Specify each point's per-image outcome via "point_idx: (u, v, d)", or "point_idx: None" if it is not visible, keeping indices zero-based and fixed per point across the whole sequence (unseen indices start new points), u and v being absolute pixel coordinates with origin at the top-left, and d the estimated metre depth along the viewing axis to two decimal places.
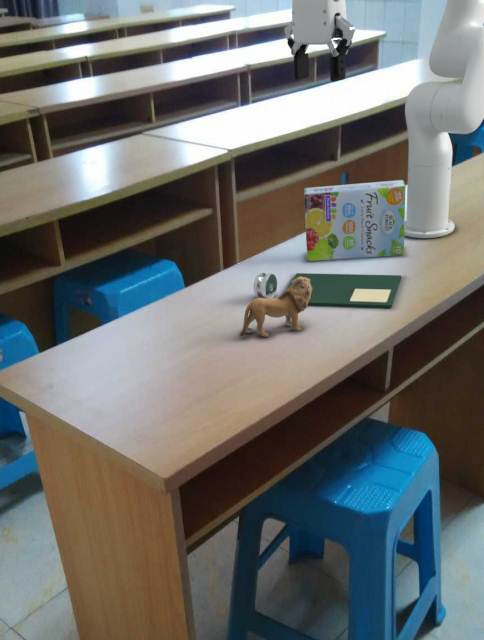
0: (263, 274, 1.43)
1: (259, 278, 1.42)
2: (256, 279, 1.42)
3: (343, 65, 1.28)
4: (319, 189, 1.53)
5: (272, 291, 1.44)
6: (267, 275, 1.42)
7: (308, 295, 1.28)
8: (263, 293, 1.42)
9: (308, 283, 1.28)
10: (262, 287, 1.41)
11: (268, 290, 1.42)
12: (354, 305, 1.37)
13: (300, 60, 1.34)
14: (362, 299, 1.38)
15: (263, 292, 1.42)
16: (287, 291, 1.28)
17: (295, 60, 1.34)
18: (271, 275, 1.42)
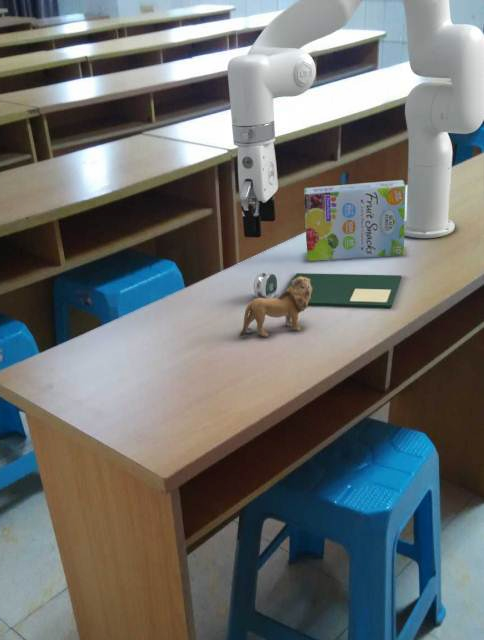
0: (263, 274, 1.43)
1: (259, 278, 1.42)
2: (256, 279, 1.42)
3: (252, 225, 1.31)
4: (319, 189, 1.53)
5: (272, 291, 1.44)
6: (267, 275, 1.42)
7: (308, 295, 1.28)
8: (263, 293, 1.42)
9: (308, 283, 1.28)
10: (262, 287, 1.41)
11: (268, 290, 1.42)
12: (354, 305, 1.37)
13: (262, 205, 1.39)
14: (362, 299, 1.38)
15: (263, 292, 1.42)
16: (287, 291, 1.28)
17: None
18: (271, 275, 1.42)
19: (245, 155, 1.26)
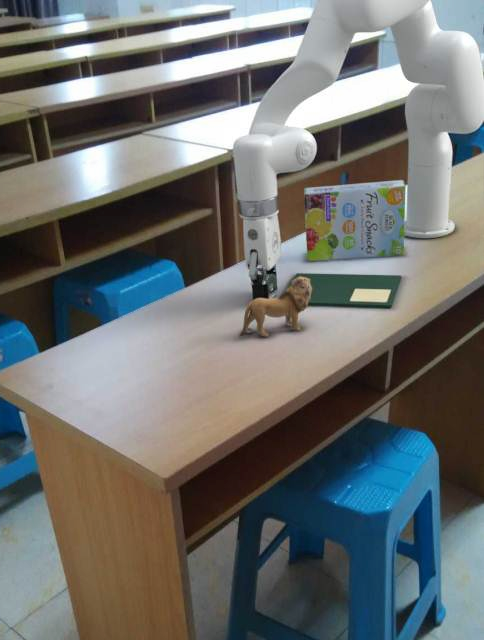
0: None
1: None
2: None
3: (261, 293, 1.40)
4: (319, 189, 1.53)
5: (272, 291, 1.44)
6: (267, 275, 1.42)
7: (308, 295, 1.28)
8: None
9: (308, 283, 1.28)
10: None
11: (268, 290, 1.42)
12: (354, 305, 1.37)
13: None
14: (362, 299, 1.38)
15: None
16: (287, 291, 1.28)
17: None
18: (271, 275, 1.42)
19: (250, 228, 1.33)
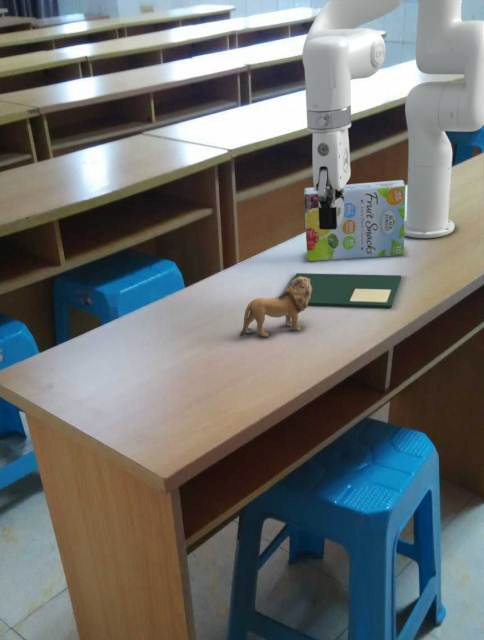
0: (330, 198, 1.32)
1: None
2: None
3: (329, 217, 1.29)
4: None
5: (339, 217, 1.32)
6: (335, 198, 1.30)
7: (308, 295, 1.28)
8: None
9: (308, 283, 1.28)
10: None
11: None
12: (354, 305, 1.37)
13: None
14: (362, 299, 1.38)
15: None
16: (287, 291, 1.28)
17: None
18: (339, 199, 1.30)
19: (321, 142, 1.21)
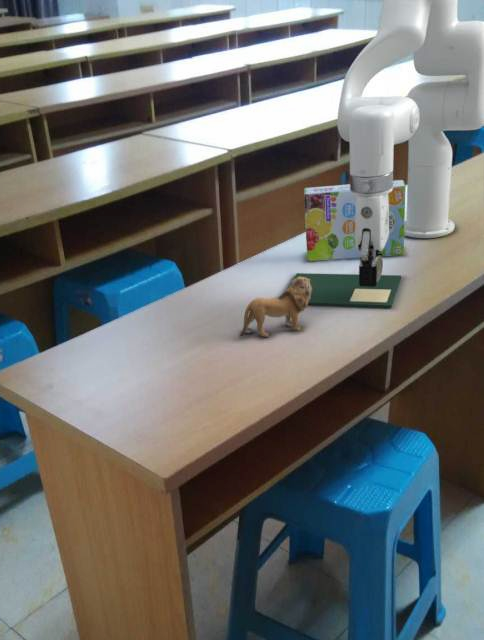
0: None
1: None
2: None
3: (369, 275, 1.33)
4: (319, 189, 1.53)
5: (378, 274, 1.36)
6: None
7: (308, 295, 1.28)
8: None
9: (308, 283, 1.28)
10: None
11: None
12: (354, 305, 1.37)
13: None
14: (362, 299, 1.38)
15: None
16: (287, 291, 1.28)
17: None
18: (379, 257, 1.34)
19: (364, 205, 1.25)
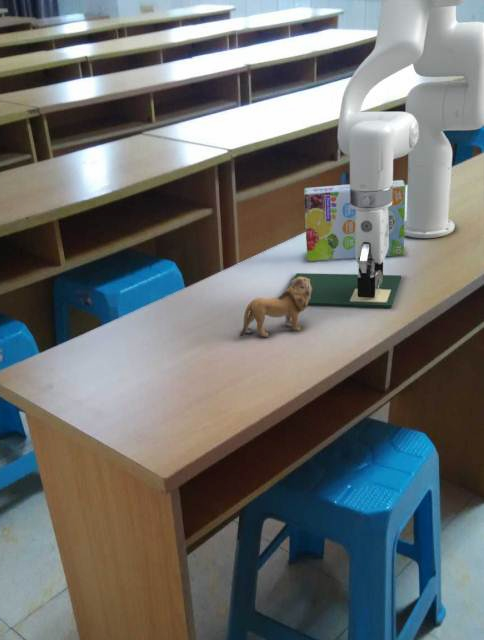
0: None
1: None
2: None
3: (368, 286, 1.32)
4: (319, 189, 1.53)
5: (378, 288, 1.38)
6: (375, 271, 1.36)
7: (308, 295, 1.28)
8: None
9: (308, 283, 1.28)
10: None
11: (375, 287, 1.36)
12: (354, 305, 1.37)
13: None
14: (362, 299, 1.38)
15: None
16: (287, 291, 1.28)
17: None
18: (378, 271, 1.36)
19: (364, 219, 1.26)
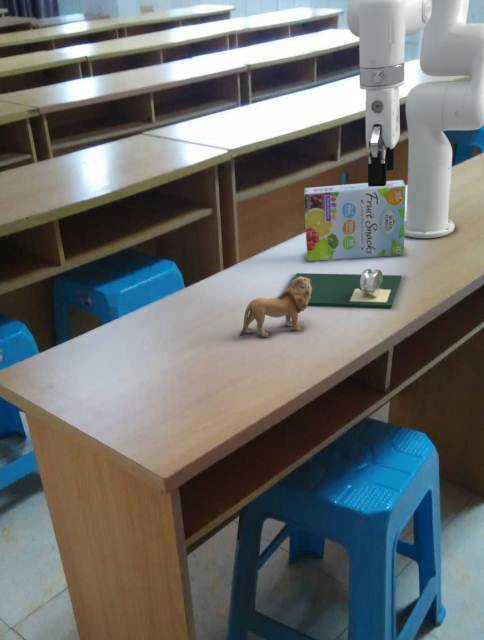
0: (369, 270, 1.37)
1: (366, 274, 1.36)
2: (363, 275, 1.36)
3: (379, 174, 1.27)
4: (319, 189, 1.53)
5: (378, 288, 1.38)
6: (375, 271, 1.36)
7: (308, 295, 1.28)
8: (370, 290, 1.36)
9: (308, 283, 1.28)
10: (370, 284, 1.35)
11: (375, 287, 1.36)
12: (354, 305, 1.37)
13: (381, 154, 1.35)
14: (362, 299, 1.38)
15: (370, 289, 1.36)
16: (287, 291, 1.28)
17: None
18: (378, 271, 1.36)
19: (375, 99, 1.21)
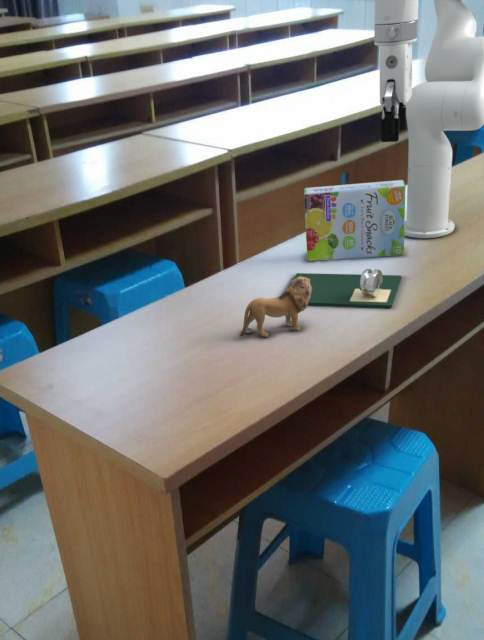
0: (369, 270, 1.37)
1: (366, 274, 1.36)
2: (363, 275, 1.36)
3: (392, 129, 1.31)
4: (319, 189, 1.53)
5: (378, 288, 1.38)
6: (375, 271, 1.36)
7: (308, 295, 1.28)
8: (370, 290, 1.36)
9: (308, 283, 1.28)
10: (370, 284, 1.35)
11: (375, 287, 1.36)
12: (354, 305, 1.37)
13: None
14: (362, 299, 1.38)
15: (370, 289, 1.36)
16: (287, 291, 1.28)
17: None
18: (378, 271, 1.36)
19: (389, 54, 1.26)
